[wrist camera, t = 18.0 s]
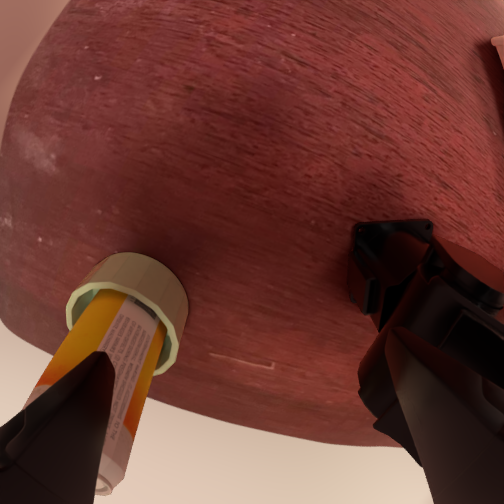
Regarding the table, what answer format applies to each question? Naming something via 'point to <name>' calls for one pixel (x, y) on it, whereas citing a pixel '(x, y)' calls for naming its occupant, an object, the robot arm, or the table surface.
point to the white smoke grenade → (499, 46)
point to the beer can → (126, 367)
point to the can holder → (138, 295)
